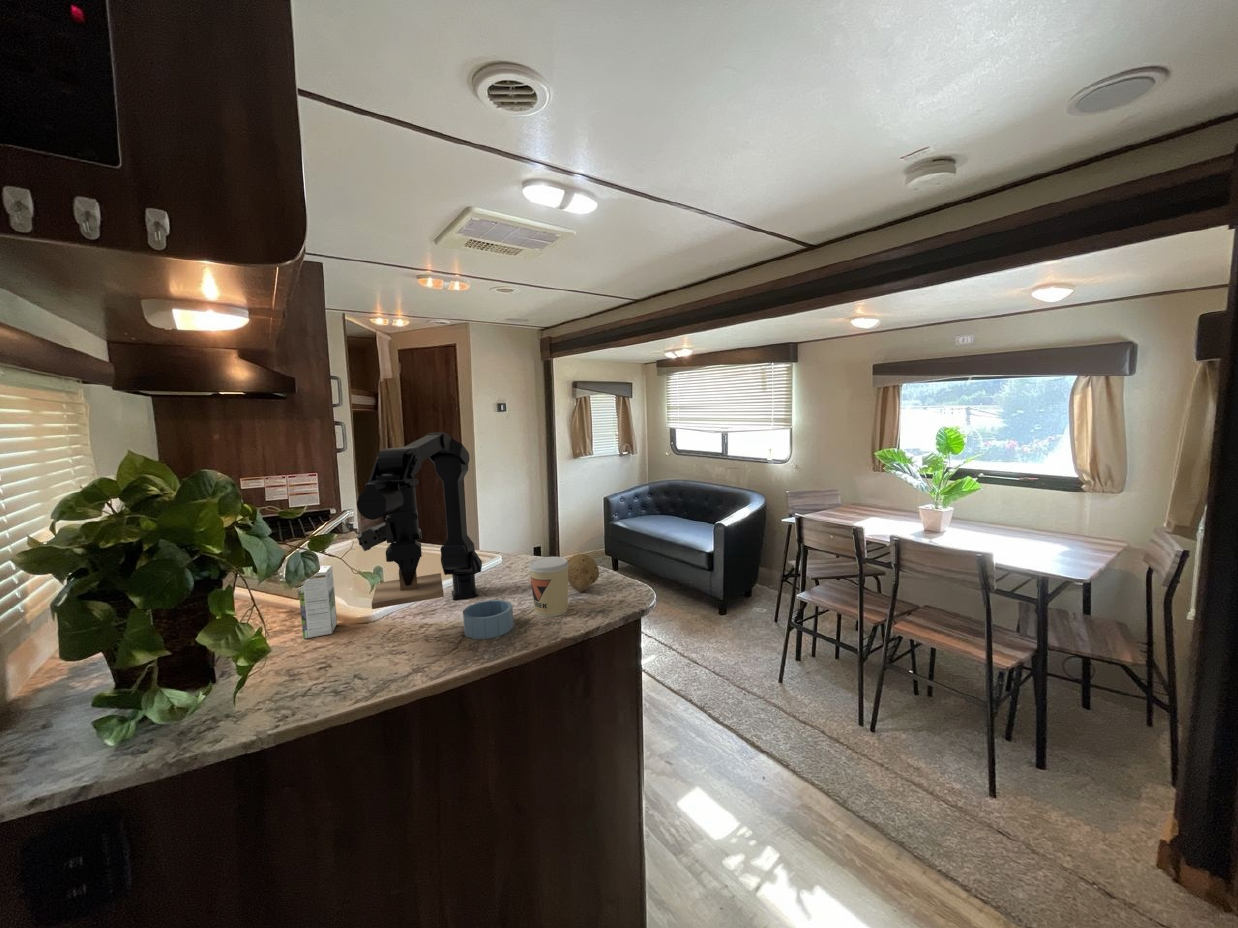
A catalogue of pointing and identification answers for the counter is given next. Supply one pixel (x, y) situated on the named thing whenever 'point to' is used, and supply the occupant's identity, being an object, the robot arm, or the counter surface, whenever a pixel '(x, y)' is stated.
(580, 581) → the natural sponge
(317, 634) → the syrup box
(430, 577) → the cover board
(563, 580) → the coffee cup
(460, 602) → the counter surface
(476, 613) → the bowl
